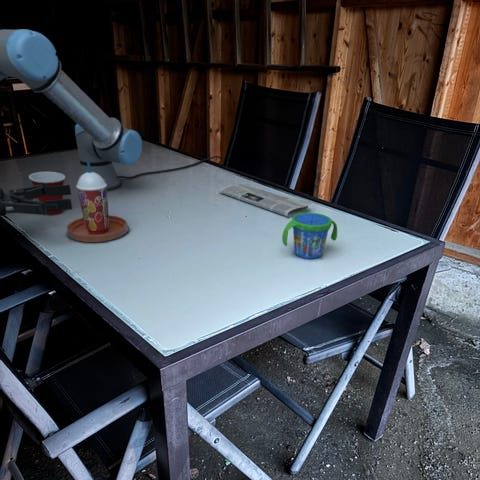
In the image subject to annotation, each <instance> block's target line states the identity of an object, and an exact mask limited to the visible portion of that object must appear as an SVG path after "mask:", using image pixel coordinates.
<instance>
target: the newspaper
mask: <svg viewBox="0 0 480 480" xmlns="http://www.w3.org/2000/svg"><path fill="white" fill-rule="evenodd" d="M219 193H220V194H223V195H225V196H229V197H231V198H234V199H237V200H239V201H243V202H246V203H248V204H250V205H253V206H257V207H259V208H262V209H265V210H268V211H271V212H274V213H276V214H279V215H281V216H284V217H289V218H292V217H293V216H294V215H296V214H299V213H306V211H307V210H308V209H309V206H310V205H312V204H313V201H310V200H306V199H301V198H297V197H292V196H288V195H287V196H286V195H282V194H277V193H275V192H272V191H268V190H266V189H264V188H260V187H257V186H254V185H252V184H249V183H245V184H243V183H234V184H229V185H227V186H224V187H221V188H220V189H219Z"/></svg>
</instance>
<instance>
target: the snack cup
mask: <svg viewBox="0 0 480 480" xmlns="http://www.w3.org/2000/svg"><path fill="white" fill-rule="evenodd" d="M332 226H333V229H332V232H331V235H330V239H331V240H332V241H336V240H337V238H338V226H337V223H336V222H335V221H334V220H333V219H332V218H331V217H329V216H327V215H325V214H323V213H318V212H317V213H316V212H303V213H299V214H296V215H294V216H291V220H290V221H289V222H288V223H287V224H285V227H284V229H283V231H282V237H281V241H282V244H283V246H285V247H287V246H288V237H289V236H288V235H289V230H291V228H292V230H293V249H294V253H295V255H296V256H299V257H300V258H304V259H306V260H309V259H316V258H320V257H321V255H322V254H323V252H324V248H325V246H326V241H327V238H328V233H329V230H330V229H331V227H332Z"/></svg>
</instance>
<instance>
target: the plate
mask: <svg viewBox="0 0 480 480" xmlns="http://www.w3.org/2000/svg"><path fill="white" fill-rule="evenodd" d="M66 231H67V236H68V237H69V238H70V239H71V240H75V241H78V242H83V243H102V242H107V241H113V240H116V239H119V238H121V237H123V236H124V235H125V234H127V232H128V231H129V227H128V222H127V220H126V219H124V218H123V217H120V216H117V215H111V214H109V227H108V231H107V232H105V233H102V234H91V233H89V232H88V229H86V227H85V222H84V218H83V216H82V217H80V218H76V219H74V220H72V221H70V222H69V223H68V224H67V225H66Z"/></svg>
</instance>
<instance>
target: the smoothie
mask: <svg viewBox="0 0 480 480" xmlns="http://www.w3.org/2000/svg"><path fill="white" fill-rule="evenodd" d="M87 166H88V172H86V173H84V174H83V175H81V177H80V178H79V177H78V179H79V180H78V181H77V183H76V185H75V188H76V191H77V196H78V200H79V204H80V208H81V213H82V214H81V215H82V217H83V218H84V222H85V227H86V229H88V232H89V233H91V234H102V233H105V232H107V231H108V227H109V215H110V214H109V202H108V190H107V184H106V183H105V181H104V180H103V178H102V177H101V176H100V175H99V174H97V173H94V172H91V169H90V162H87Z"/></svg>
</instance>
